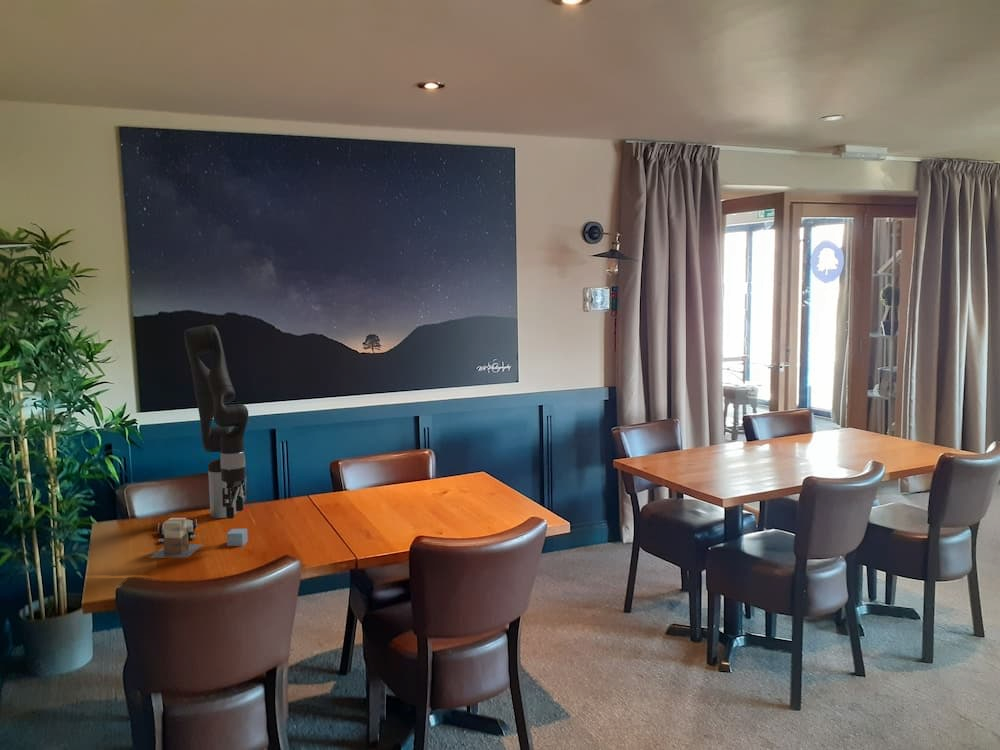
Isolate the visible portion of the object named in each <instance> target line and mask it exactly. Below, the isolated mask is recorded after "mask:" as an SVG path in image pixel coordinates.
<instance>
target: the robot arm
mask: <svg viewBox="0 0 1000 750" xmlns="http://www.w3.org/2000/svg"><path fill="white" fill-rule="evenodd" d="M183 339H184V343H185V348H186V352H187V353H186V354H187V356H188V360H189V365H190V369H191V370H190V371H191V375H192V380H193V381H192V382H193V388H194V389H193V390H194V395H195V400H196V405H197V410H198V416H199V422H200V432H201V441H202V447H203V449H204V451H205V452H207V453H208V452H209V453H220V458H217V459H215V460H212V461H210V462H208V465H207V470H208V471H207V473H208V490H209V491H208V492H209V512H210V517H211V518H213V519H224V518H226V519H227V520H228V519H231V520H232V519H234V518H235V516H236V515H237V514H238V512H242V511H244V499H245V497H246V496H247V495H246V494H247V493H246V492H247V491H246V478H247V475H246V474H247V473H246V470H247V469H246V456H245V446H244V445H245V442H244V441H245V440H244V439H245V433H246V428H247V426H248V425H247V424H248V420H249V410H248V407H247V406H246V405H245V404H243V403H234V404H233V403H231V402H233V401H234V400H235V398H236V392H235V388H234V385H233V384H232V380H231V378H230V374H229V370H228V365H227V360H226V356H225V351H224V347H223V343H222V338H221V335H220V332H219V330H218V329H217V326H215V325H214V324H207V325H201V326H196V327H191V328H188V329H187V328H186V329H185V330H184V334H183ZM209 353H213V354H214V357H213V362H212V365H211V367H210V369H209V368H208V367H207V366H206V365H205V363H203V361H202V360H201V359H200V357H199V355H200V356H201V355H204V354H209ZM229 403H231V404H229ZM212 421H214V423H215V424H216V426H212Z"/></svg>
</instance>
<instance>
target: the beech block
mask: <svg viewBox="0 0 1000 750" xmlns="http://www.w3.org/2000/svg"><path fill="white" fill-rule="evenodd" d="M186 520H187V517H170V518H169V519H167V520H165V521H164V522H163V523H164V538H181V537H182V536H184V535H185V534H186V533H187V525H186Z"/></svg>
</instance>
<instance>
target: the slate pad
mask: <svg viewBox="0 0 1000 750" xmlns="http://www.w3.org/2000/svg"><path fill="white" fill-rule="evenodd" d="M202 546H203V544H201V543H199V544H197V543H196V544H193V543H192V544H191V543H190V544H189V548H188V549H187V550H186V551H184V552H183V553H182V554H164V546H162V547H161V548H160V549H158V550H157V551H156V552H155V553H153V554H152V555H151V556H149V557H148V558H150V559H153V558H154V559H157V558H159V559H162V558H163V559H164V558H165V559H167V558H170V559H176V558H177V559H178V558H179V559H180V558H181V559H183V558H184V559H185V558H187V559H188V558H189V557H190V556H191V555H192V554H193V553H194V552H196V551H197V550H198V549H200V548H201V547H202Z"/></svg>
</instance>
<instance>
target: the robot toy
mask: <svg viewBox="0 0 1000 750" xmlns="http://www.w3.org/2000/svg"><path fill="white" fill-rule="evenodd" d="M197 520H198V519H197V518H195V521H193V520H191V519H186V525H187V533H188V540H189V539H190V540H191V539H195V538H196V534H195V533H194V531H195V530H196V528H197V527H198V524H197V523H198V522H197ZM157 531H158V533H160V534H161V535H160V538H159V539H158V543H160V542H161V543H163V538H164V522H162V525H160V523H158V524H157Z"/></svg>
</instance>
